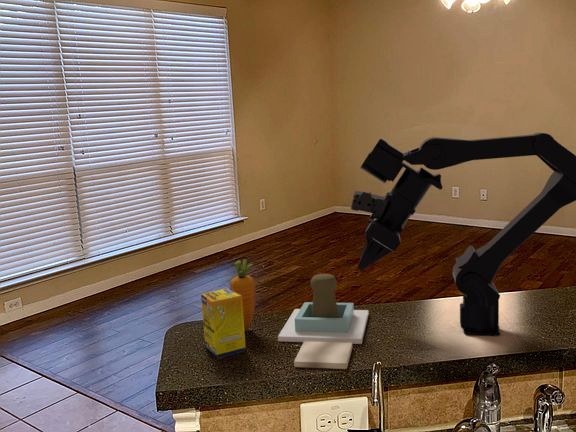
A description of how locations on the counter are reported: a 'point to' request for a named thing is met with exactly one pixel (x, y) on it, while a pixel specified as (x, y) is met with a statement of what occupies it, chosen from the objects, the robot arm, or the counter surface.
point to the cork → (324, 296)
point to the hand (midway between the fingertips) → (361, 262)
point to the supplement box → (223, 322)
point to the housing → (325, 325)
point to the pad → (324, 355)
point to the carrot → (245, 291)
